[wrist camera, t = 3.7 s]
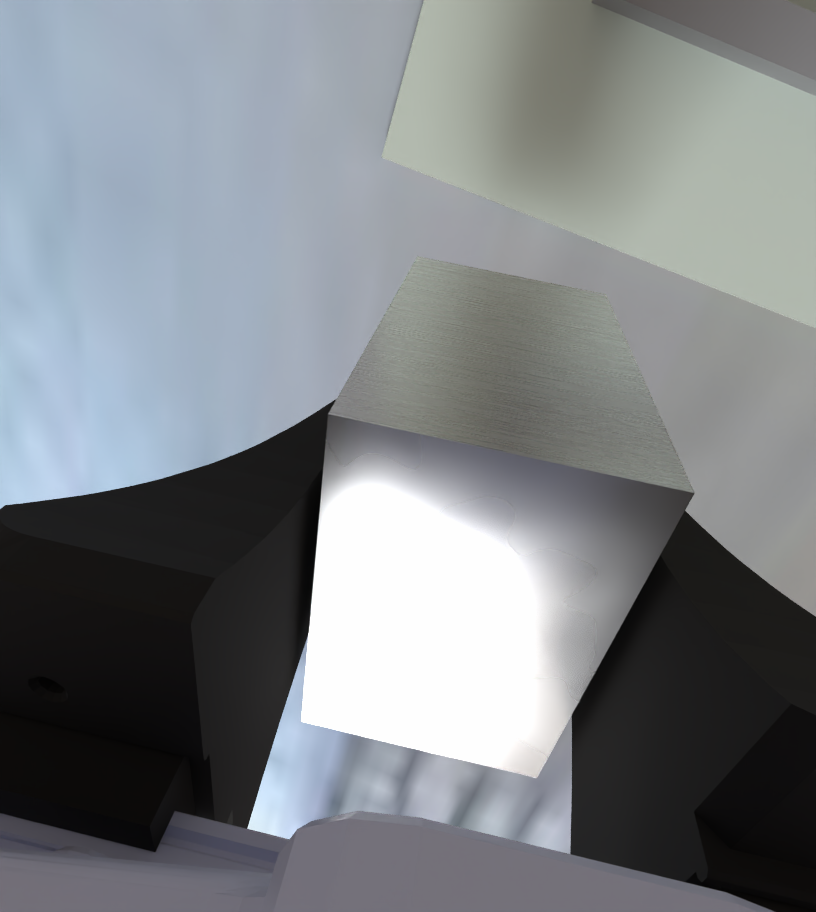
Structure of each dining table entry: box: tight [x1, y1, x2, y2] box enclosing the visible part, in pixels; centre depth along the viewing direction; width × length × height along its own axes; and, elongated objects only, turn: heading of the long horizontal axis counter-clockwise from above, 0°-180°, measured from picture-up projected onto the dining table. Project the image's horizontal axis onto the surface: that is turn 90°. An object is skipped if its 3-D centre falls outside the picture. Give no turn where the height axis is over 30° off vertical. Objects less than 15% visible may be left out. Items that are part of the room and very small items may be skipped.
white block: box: [301, 257, 694, 778], centre depth 11 cm, size 4×6×7 cm, turn 171°
